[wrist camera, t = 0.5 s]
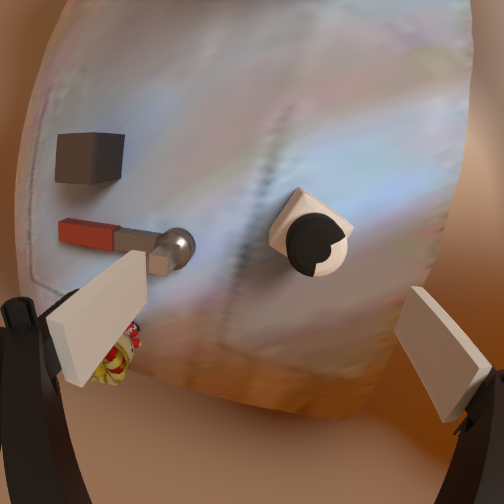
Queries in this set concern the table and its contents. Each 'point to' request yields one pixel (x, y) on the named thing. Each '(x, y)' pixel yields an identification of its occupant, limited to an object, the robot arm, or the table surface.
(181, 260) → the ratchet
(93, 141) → the dark wooden cube
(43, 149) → the table surface
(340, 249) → the medicine bottle
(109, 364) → the toy
